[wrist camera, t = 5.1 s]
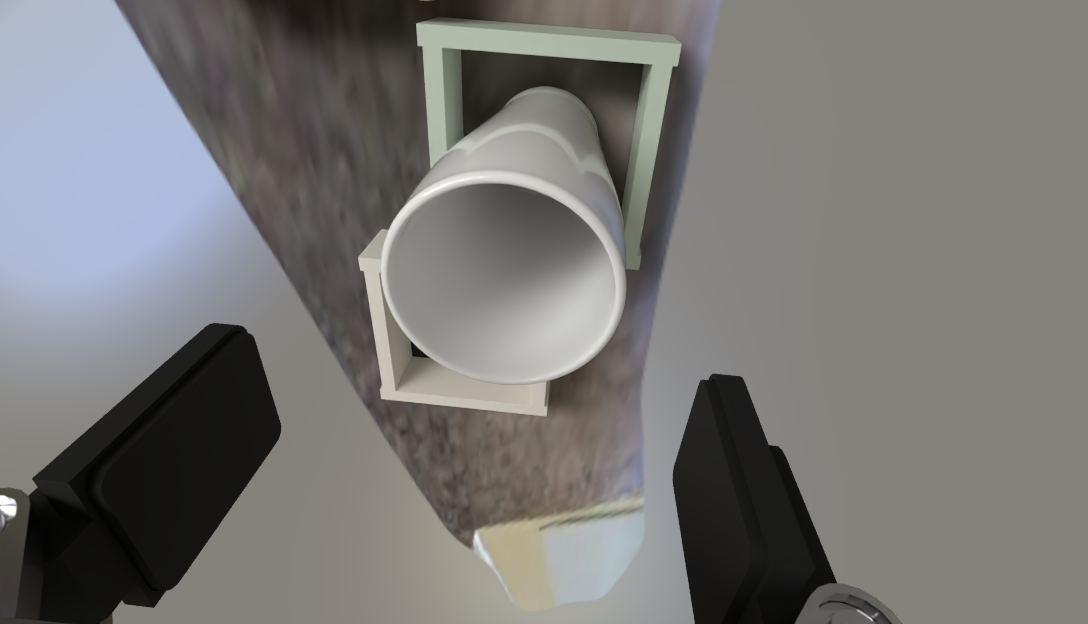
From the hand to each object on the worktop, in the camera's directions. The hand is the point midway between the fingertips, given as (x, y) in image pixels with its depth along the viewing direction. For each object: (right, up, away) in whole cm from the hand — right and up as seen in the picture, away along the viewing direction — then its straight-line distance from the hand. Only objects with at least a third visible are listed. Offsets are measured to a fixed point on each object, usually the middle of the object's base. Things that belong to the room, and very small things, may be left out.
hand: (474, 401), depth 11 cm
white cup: (+2, +11, +15) cm, 19 cm away
